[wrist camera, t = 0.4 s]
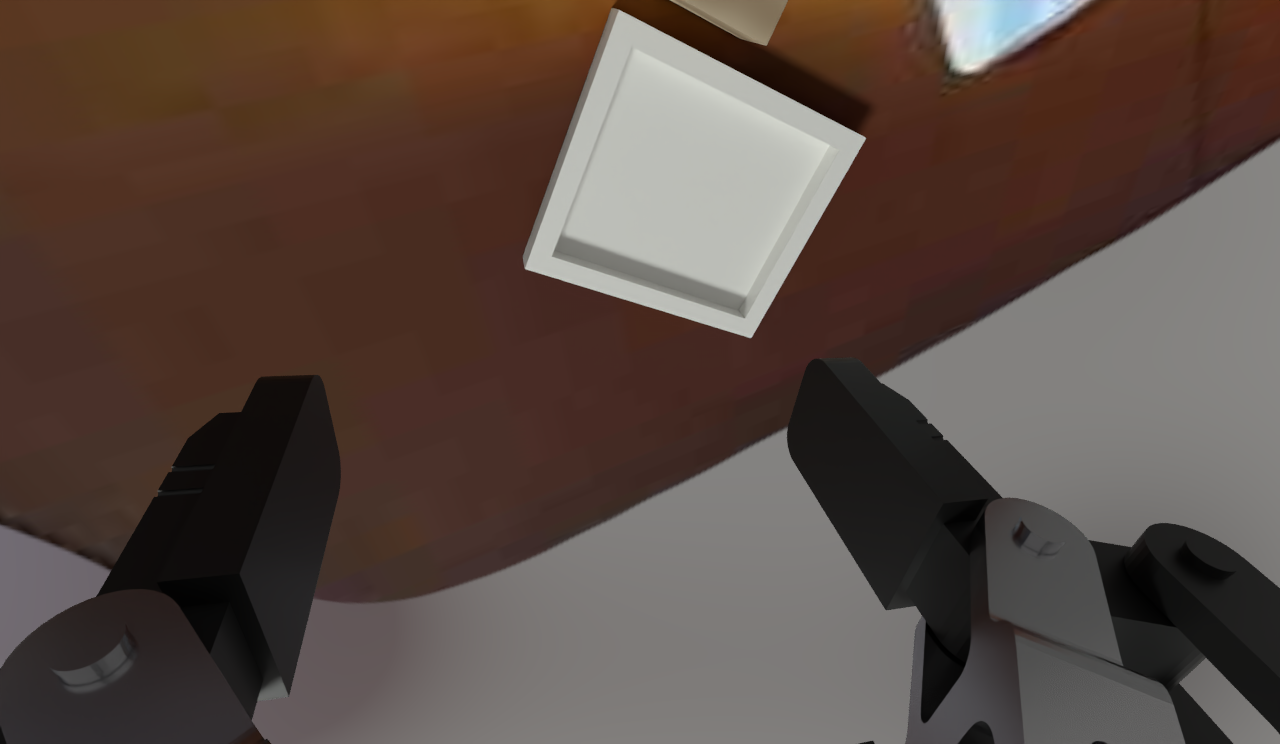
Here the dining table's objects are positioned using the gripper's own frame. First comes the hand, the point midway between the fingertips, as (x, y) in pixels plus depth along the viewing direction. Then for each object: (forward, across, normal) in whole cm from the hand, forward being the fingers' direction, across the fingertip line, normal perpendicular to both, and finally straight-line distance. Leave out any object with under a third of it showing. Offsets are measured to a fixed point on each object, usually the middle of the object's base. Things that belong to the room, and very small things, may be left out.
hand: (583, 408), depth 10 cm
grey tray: (+27, -10, +5) cm, 29 cm away
